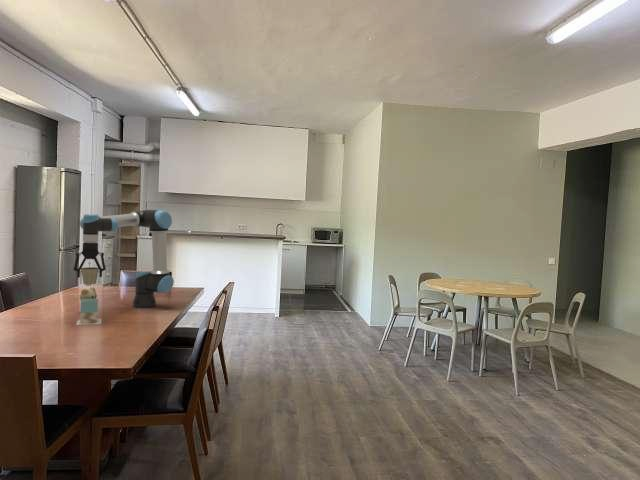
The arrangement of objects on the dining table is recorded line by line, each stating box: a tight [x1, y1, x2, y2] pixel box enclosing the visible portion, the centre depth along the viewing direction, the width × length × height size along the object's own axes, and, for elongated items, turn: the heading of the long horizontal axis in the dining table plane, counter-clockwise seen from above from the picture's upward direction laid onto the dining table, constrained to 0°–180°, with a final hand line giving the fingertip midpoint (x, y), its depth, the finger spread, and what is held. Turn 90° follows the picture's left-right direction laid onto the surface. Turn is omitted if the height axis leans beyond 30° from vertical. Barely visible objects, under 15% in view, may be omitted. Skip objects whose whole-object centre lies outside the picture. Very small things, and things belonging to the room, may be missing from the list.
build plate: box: [76, 318, 102, 326], centre depth 245 cm, size 12×12×1 cm
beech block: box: [80, 309, 99, 325], centre depth 245 cm, size 8×8×6 cm
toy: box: [79, 286, 98, 301], centre depth 272 cm, size 10×8×15 cm
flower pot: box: [80, 266, 99, 286], centre depth 244 cm, size 9×9×9 cm
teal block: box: [80, 298, 99, 314], centre depth 245 cm, size 8×8×6 cm
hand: (89, 283), depth 244 cm, fingers closed on flower pot, 8 cm apart
